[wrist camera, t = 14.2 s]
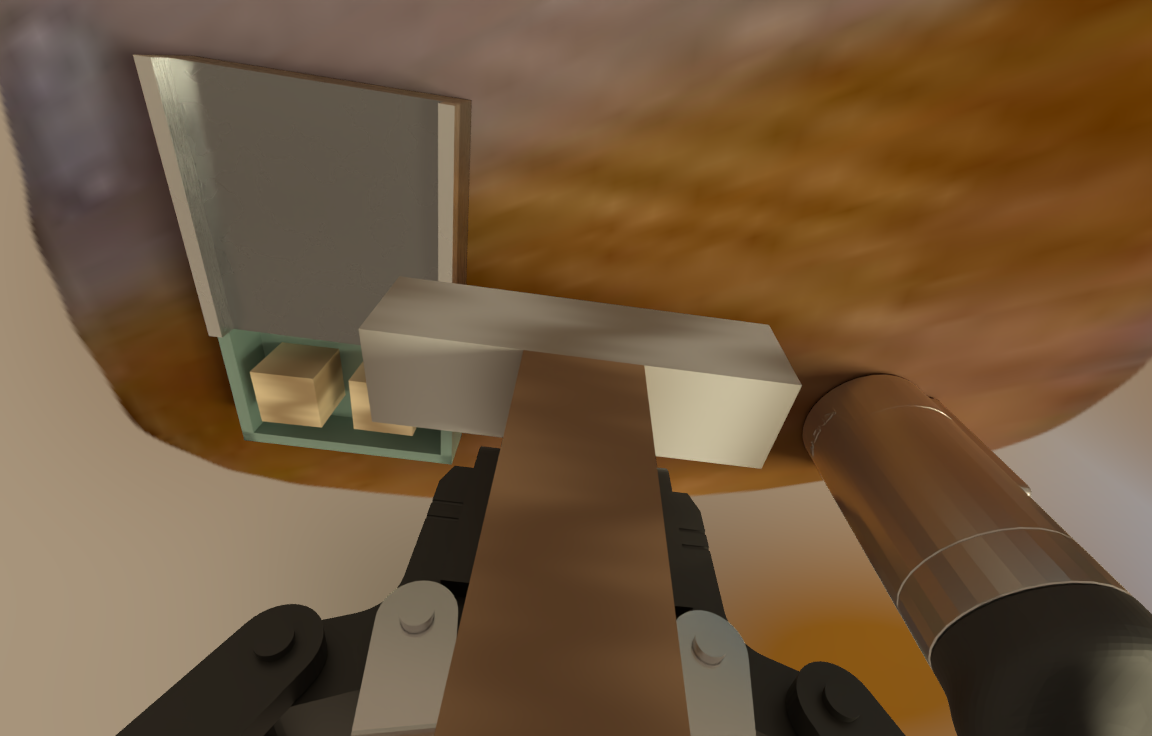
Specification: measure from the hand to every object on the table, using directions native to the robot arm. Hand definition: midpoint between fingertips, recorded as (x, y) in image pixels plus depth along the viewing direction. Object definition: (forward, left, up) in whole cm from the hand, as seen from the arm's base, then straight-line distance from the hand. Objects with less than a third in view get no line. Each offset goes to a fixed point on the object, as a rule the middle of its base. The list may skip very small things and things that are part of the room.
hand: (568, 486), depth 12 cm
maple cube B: (+18, +11, -20) cm, 29 cm away
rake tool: (0, -1, -5) cm, 5 cm away
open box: (+14, +1, -23) cm, 27 cm away
